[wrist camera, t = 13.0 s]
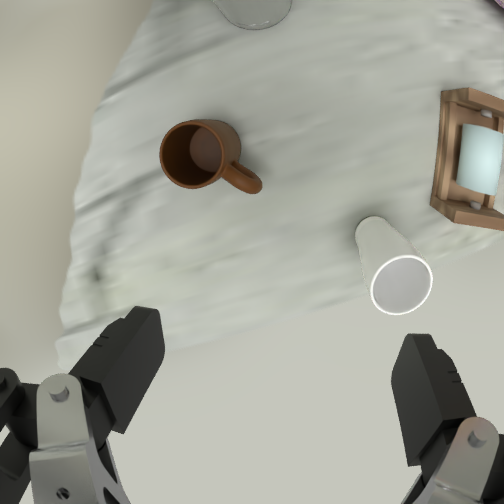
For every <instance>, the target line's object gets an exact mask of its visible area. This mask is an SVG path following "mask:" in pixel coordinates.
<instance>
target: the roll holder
mask: <svg viewBox="0 0 504 504" xmlns="http://www.w3.org/2000/svg"><path fill="white" fill-rule="evenodd" d="M463 124H471V125H480V126H484V127H488V128H490V129H491V130H495V131H497V132H500V133H502V134H503V128H504V100H502V99H499V98H497V97H494V96H492V95H489V94H486V93H483V92H481V91H478V90H475V89H472V88H469V87H468V88H461V89H455V90H448V91H442V92H441V107H440V124H439V137H438V148H437V157H436V166H435V174H434V181H433V188H432V194H431V201H430V205H431V206H432V207H433V208H435V209H436V210H437V211H439V212H440V213H441V214H443V215H444V216H445V217H447V218H448V219H449V220H451V221H452V222H453V223H458V224H464V225H471V226H477V227H483V228H489V229H495V230H501V231H504V215H503V214H502V213H500V212H498V211H497V210H495V209H493V205H494V199H495V196H493V195H488V194H484V193H477V192H474V191H471V190H469V189H467V188H465V187H462V186H460V185H458V184H456V179H457V172H458V165H459V157H460V149H461V139H462V128H463Z"/></svg>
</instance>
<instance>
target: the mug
mask: <svg viewBox="0 0 504 504" xmlns="http://www.w3.org/2000/svg"><path fill="white" fill-rule="evenodd" d="M240 153H241V144H240V140H239V137H238V135H237V133H236V132H235V130H234V129H233V128H232V127H231V126H229V125H228V124H226V123H224V122H221V121H217V120H190V121H186V122H182V123H179V124H177V125H176V126H174V127H173V128H171V129H170V130H169V131H168V132H167V134H166V135H165V137H164V138H163V141H162V143H161V146H160V163H161V166H162V169H163V171H164V173H165V174H166V176H167V177H168V178H169V179H170V180H171V181H172V182H174V183H175V184H177V185H179V186H181V187H184V188H188V189H197V188H202V187H204V186H207V185H210V184H212V183H214V182H215V181H217V180H218V179H219V178H221V177H222V178H224V179H225V180H226V181H228V182H229V183H230V184H232V185H233V186H234V187H236V188H238V189H240V190H241V191H244V192H246V193H249V194H256V193H258V192H260V191H261V189H262V181H261V180H260V178H259V177H258V176H257V175H256V174H255V173H253V172H252V171H250V170H249V169H247V168H246V167H244V166H243V165H241V164H240V163H239V162H238V160H239V157H240Z"/></svg>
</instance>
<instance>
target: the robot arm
mask: <svg viewBox="0 0 504 504" xmlns="http://www.w3.org/2000/svg"><path fill="white" fill-rule="evenodd" d="M212 1H213V2H214V3H215V4H216V5H217V7H218V8H219V9H220V11H221V12H222V13H223V14H224V16H225V17H226V18H227V19H228V20H229V21H230V22H231V23H233V24H234V25H236V26H238V27H241V28H245V29H252V30H257V29H264V28H268V27H271V26H273V25H275V24H277V23H278V22H280V21H281V20H282V19H283V18H284V17H285V16H286V15H287V13H288V12H289V10H290V6H291V0H212ZM164 354H165V344H164V338H163V332H162V325H161V319H160V313H159V311H158V310H157V309H152V308H146V307H140V306H135V307H134V308H133V309H132V310H131V311H130V312H129V314H128V315H127V316H126V317H125V318H119V319H118V320H116V321H114V322H113V323H111V324H109V325H108V326H107V327H106V328H105V329H104V331H103V332H102V333H101V334H100V337H98V338H97V339H96V340H95V341H94V343H93V345H91V346H90V347H89V349H88V350H87V351H86V352H85V354H84V355H83V356H82V357H81V358H80V360H79V361H78V362H77V363H76V365H75V366H74V367H73V368H72V370H71V371H70V372H69V373H68V374H56V375H52V376H50V377H48V378H47V379H45V380H44V381H43V382H42V383H41V384H40V385H39V384H29V383H21V382H20V380H19V378H18V376H17V374H16V373H15V372H14V371H13V370H11V369H9V368H0V432H1V430H2V429H3V427H4V426H5V425H6V426H7V428H8V429H9V430H10V433H9V434H8V435H7V437H6V438H5V440H4V442H3V443H2V445H1V446H0V504H19V502H20V500H21V498H22V496H23V494H24V492H25V490H26V488H27V486H28V484H29V482H30V480H31V484H32V492H33V499H34V504H131V503H130V501H129V499H128V497H127V496H126V494H125V492H124V490H123V487H122V485H121V482H120V478H119V475H118V472H117V469H116V465H115V462H114V458H113V455H112V452H111V448H110V444H109V441H108V439H107V437H108V435H109V433H110V431H111V430H112V431H115V432H118V433H121V434H124V433H125V431H126V429H127V427H128V425H129V423H130V421H131V419H132V417H133V415H134V414H135V412H136V410H137V408H138V406H139V404H140V402H141V401H142V399H143V397H144V395H145V393H146V391H147V389H148V388H149V386H150V384H151V382H152V380H153V378H154V377H155V375H156V373H157V371H158V369H159V367H160V366H161V364H162V361H163V358H164ZM391 385H392V390H393V394H394V399H395V403H396V407H397V412H398V417H399V421H400V426H401V431H402V436H403V441H404V446H405V452H406V458H407V464H408V467H409V466H417V465H421V469H422V472H421V473H420V474H419V476H418V477H417V479H416V480H415V482H414V484H413V485H412V487H411V488H410V491H409V492H408V493H407V495H406V496H405V498H404V499H403V501H402V502H401V504H504V435H503V434H498V431H497V430H496V428H495V426H494V425H493V424H492V423H491V422H489V421H488V420H486V419H484V418H481V417H477V416H476V413H475V411H474V408H473V406H472V403H471V401H470V398H469V396H468V394H467V391H466V389H465V387H464V385H463V383H461V378H460V376H459V373H457V369H456V367H455V365H454V363H453V361H452V359H451V358H450V357H449V356H448V355H447V354H446V353H445V352H444V351H443V350H442V349H437V347H436V345H435V343H434V340H433V338H432V336H431V335H430V334H407V336H406V337H405V339H404V342H403V344H402V347H401V350H400V352H399V355H398V357H397V360H396V363H395V365H394V368H393V371H392V377H391Z"/></svg>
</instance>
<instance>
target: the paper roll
mask: <svg viewBox="0 0 504 504" xmlns="http://www.w3.org/2000/svg"><path fill="white" fill-rule="evenodd" d="M503 142H504V134H502V133H500V132H497V131H495V130H491V129H490V128H488V127H484V126H480V125H471V124H463V128H462V139H461V149H460V157H459V165H458V172H457V179H456V184H458V185H460V186H462V187H465V188H467V189H469V190H471V191H474V192H477V193H484V194H488V195H493V196H496V192H497V186H498V180H499V174H500V167H501V160H502V151H503Z"/></svg>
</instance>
